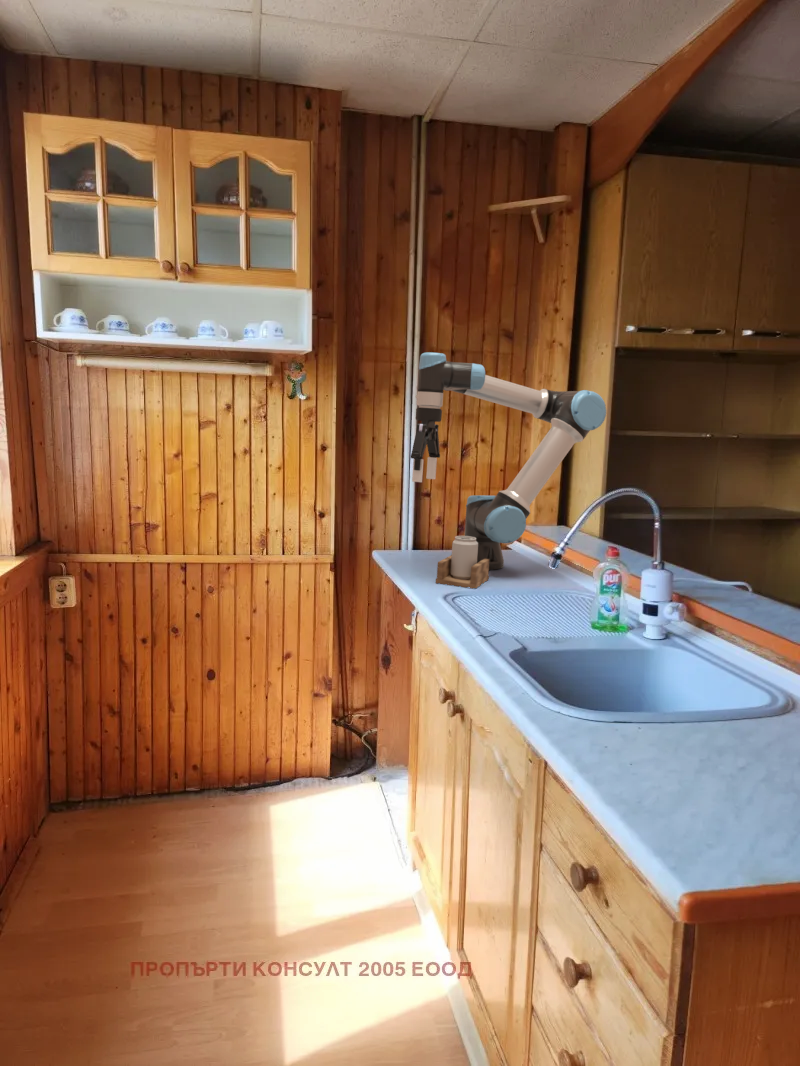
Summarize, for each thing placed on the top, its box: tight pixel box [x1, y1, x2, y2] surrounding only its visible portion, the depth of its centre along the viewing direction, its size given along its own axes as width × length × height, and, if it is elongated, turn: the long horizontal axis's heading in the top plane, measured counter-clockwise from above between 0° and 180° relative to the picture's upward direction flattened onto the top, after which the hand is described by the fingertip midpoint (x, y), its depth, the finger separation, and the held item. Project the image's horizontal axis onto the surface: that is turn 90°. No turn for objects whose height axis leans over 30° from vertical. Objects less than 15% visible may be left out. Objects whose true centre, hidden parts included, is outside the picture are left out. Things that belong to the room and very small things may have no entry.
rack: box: [435, 554, 490, 589], centre depth 212 cm, size 14×12×6 cm
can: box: [451, 535, 478, 579], centre depth 211 cm, size 8×8×12 cm
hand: (424, 480), depth 213 cm, fingers open, 13 cm apart
